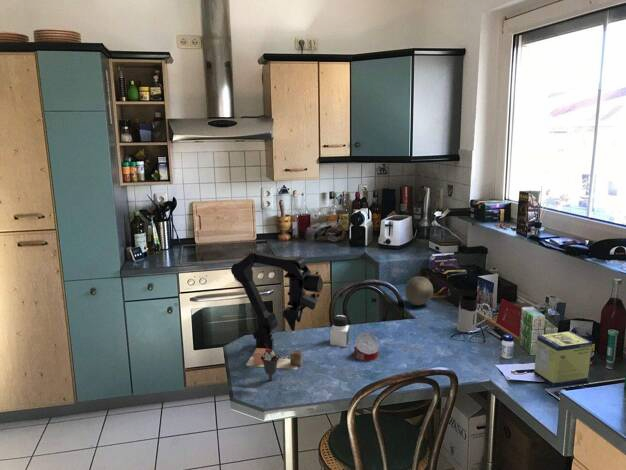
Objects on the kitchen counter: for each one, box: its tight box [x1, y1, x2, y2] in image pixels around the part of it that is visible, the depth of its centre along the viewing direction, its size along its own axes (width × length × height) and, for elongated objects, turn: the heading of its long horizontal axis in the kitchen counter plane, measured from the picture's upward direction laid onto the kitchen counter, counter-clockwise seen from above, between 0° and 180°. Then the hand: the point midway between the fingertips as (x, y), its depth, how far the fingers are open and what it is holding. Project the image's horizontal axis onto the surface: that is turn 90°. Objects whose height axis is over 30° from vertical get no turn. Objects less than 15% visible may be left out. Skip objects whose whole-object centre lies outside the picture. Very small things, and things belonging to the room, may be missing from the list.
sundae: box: [261, 344, 280, 382], centre depth 184 cm, size 7×7×15 cm
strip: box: [245, 349, 303, 370], centre depth 199 cm, size 21×8×6 cm, turn 81°
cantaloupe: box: [404, 276, 434, 306], centre depth 265 cm, size 14×14×15 cm
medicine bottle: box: [329, 314, 350, 348], centre depth 219 cm, size 7×7×12 cm
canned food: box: [353, 331, 380, 362], centre depth 208 cm, size 11×10×10 cm
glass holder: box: [456, 294, 491, 333], centre depth 232 cm, size 9×14×15 cm, turn 54°
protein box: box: [533, 331, 593, 387], centre depth 188 cm, size 10×16×16 cm
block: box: [253, 348, 266, 365], centre depth 200 cm, size 4×4×4 cm
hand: (295, 326), depth 205 cm, fingers open, 9 cm apart
